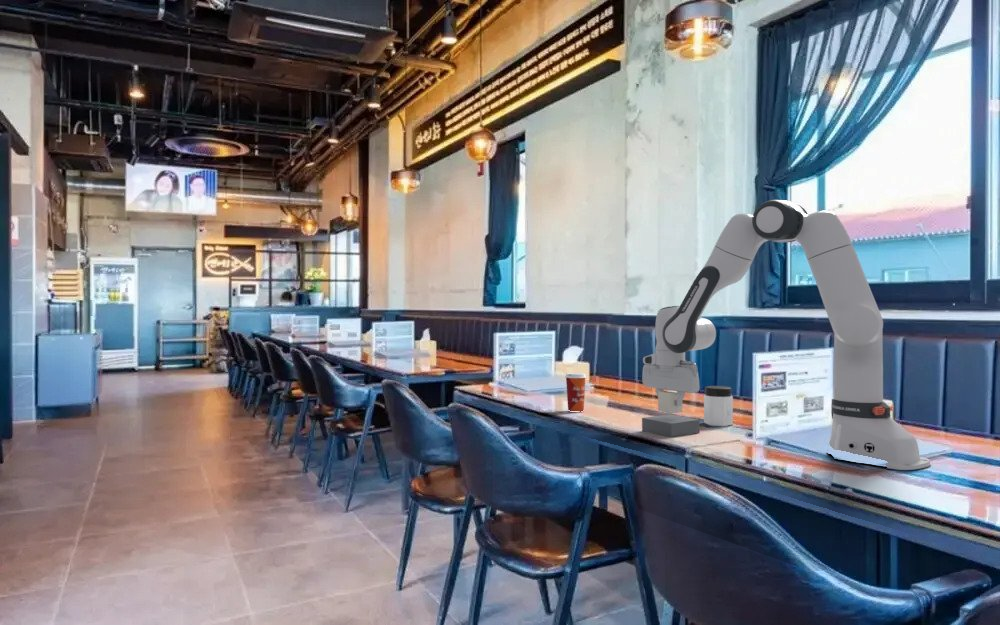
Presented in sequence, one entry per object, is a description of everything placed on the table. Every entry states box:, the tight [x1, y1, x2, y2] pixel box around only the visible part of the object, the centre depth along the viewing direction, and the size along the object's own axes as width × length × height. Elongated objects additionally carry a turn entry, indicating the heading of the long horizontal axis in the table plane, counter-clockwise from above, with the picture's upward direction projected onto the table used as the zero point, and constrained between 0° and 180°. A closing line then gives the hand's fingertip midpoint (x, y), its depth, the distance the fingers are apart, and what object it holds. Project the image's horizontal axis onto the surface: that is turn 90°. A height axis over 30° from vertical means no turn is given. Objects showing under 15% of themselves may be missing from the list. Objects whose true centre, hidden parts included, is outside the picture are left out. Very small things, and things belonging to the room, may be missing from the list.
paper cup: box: [565, 372, 587, 412], centre depth 239 cm, size 8×8×14 cm
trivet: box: [641, 413, 701, 438], centre depth 199 cm, size 12×12×4 cm
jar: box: [703, 385, 734, 427], centre depth 212 cm, size 9×8×12 cm
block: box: [657, 390, 683, 414], centre depth 199 cm, size 5×5×6 cm
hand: (670, 404), depth 199 cm, fingers closed on block, 5 cm apart
